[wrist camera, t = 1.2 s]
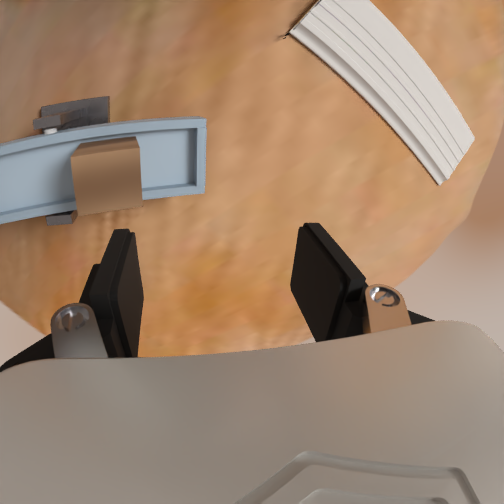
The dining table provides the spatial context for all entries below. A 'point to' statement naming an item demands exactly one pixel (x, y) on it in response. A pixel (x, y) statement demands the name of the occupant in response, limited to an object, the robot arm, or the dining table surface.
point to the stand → (68, 118)
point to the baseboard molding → (388, 79)
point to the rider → (107, 175)
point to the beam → (66, 141)
